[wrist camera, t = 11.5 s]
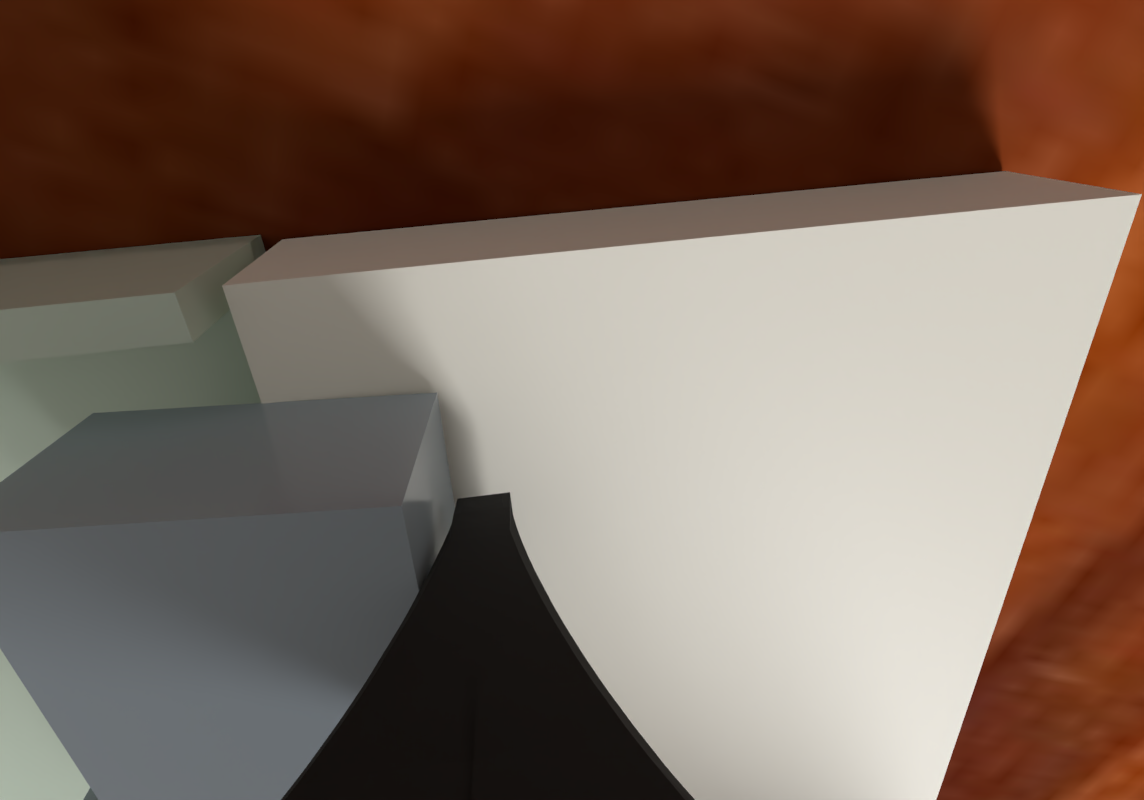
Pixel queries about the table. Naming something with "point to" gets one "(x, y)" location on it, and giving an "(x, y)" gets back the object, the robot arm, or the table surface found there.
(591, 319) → the board
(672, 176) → the table surface
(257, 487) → the tile outer
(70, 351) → the box
